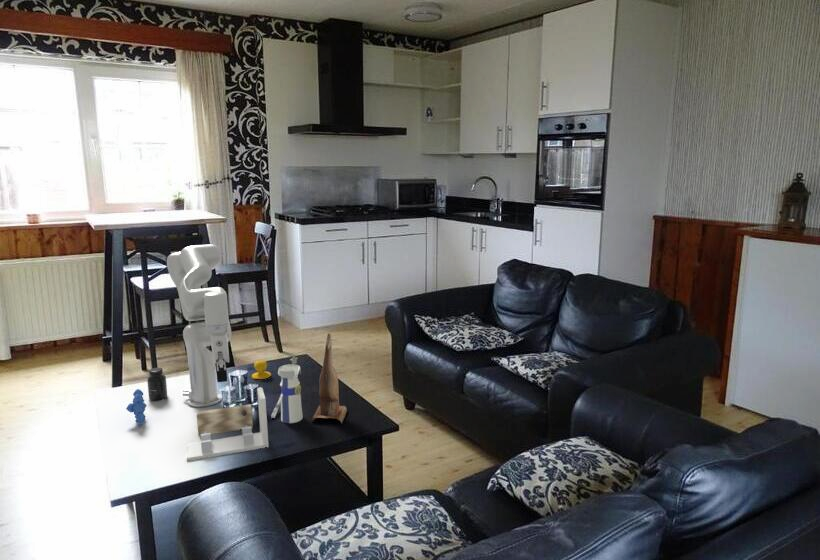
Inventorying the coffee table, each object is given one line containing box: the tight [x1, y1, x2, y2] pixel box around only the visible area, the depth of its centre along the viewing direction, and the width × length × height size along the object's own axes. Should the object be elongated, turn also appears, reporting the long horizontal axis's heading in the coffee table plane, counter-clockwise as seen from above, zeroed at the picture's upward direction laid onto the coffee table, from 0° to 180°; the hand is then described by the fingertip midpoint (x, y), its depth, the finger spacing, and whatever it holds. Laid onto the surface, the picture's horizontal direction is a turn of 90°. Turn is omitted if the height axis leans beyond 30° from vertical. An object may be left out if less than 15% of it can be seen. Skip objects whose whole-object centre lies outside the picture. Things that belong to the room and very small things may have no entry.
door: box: [196, 403, 254, 437], centre depth 203 cm, size 18×3×8 cm, turn 110°
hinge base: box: [186, 386, 270, 461], centre depth 190 cm, size 25×10×17 cm, turn 110°
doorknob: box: [251, 359, 272, 380], centre depth 254 cm, size 8×8×8 cm
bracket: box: [270, 395, 281, 419], centre depth 223 cm, size 3×21×10 cm, turn 174°
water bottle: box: [277, 355, 303, 424], centre depth 210 cm, size 8×9×25 cm
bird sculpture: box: [311, 332, 348, 424], centre depth 210 cm, size 11×12×32 cm
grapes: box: [125, 388, 147, 425], centre depth 210 cm, size 12×7×12 cm, turn 24°
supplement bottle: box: [146, 367, 168, 402], centre depth 232 cm, size 7×7×12 cm
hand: (221, 376), depth 200 cm, fingers open, 9 cm apart
